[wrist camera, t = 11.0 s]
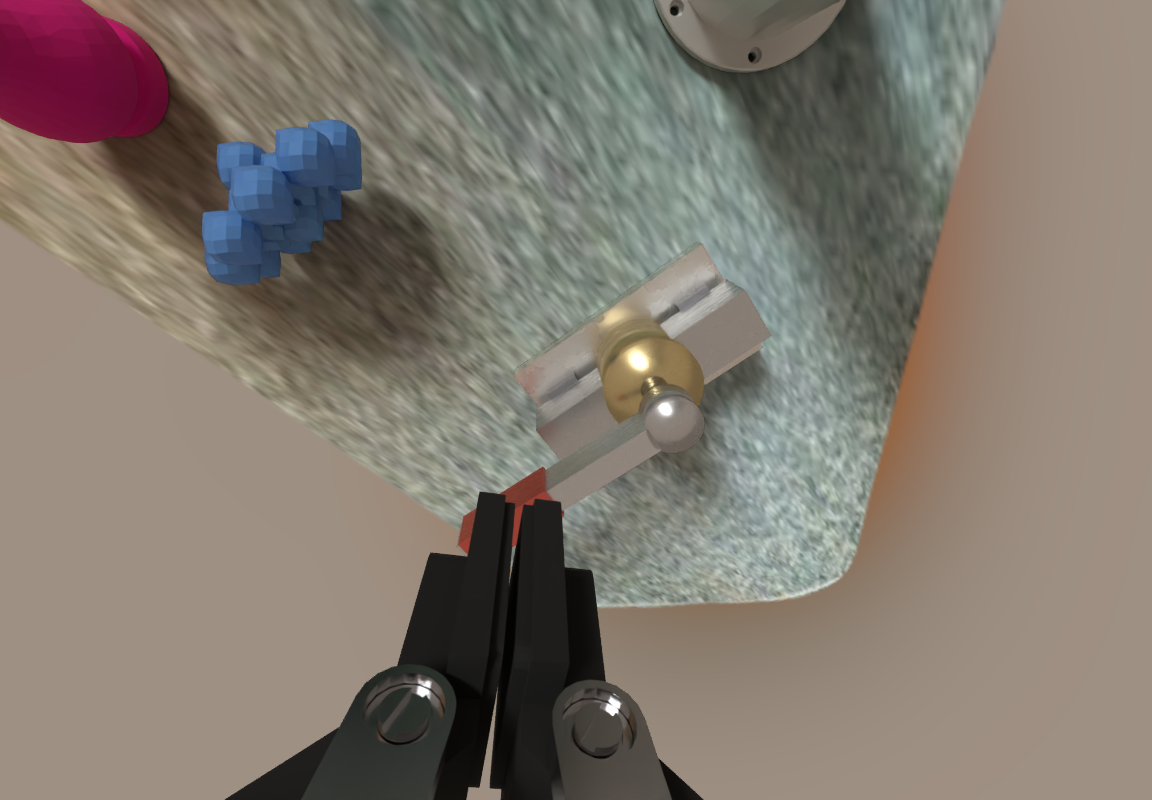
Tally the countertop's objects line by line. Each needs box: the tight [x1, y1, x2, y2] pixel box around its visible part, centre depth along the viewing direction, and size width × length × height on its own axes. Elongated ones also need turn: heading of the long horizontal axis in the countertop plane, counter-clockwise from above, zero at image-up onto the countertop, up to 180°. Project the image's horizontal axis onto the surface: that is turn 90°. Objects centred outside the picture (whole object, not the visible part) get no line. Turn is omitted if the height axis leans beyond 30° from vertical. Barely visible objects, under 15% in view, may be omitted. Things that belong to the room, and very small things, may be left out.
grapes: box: [202, 120, 362, 285], centre depth 30 cm, size 12×7×12 cm, turn 133°
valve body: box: [514, 242, 771, 460], centre depth 37 cm, size 16×9×10 cm, turn 125°
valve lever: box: [457, 384, 705, 556], centre depth 32 cm, size 16×3×3 cm, turn 124°
